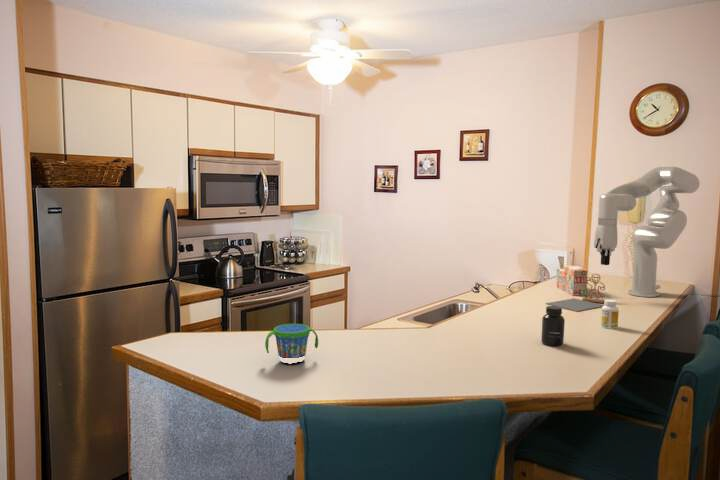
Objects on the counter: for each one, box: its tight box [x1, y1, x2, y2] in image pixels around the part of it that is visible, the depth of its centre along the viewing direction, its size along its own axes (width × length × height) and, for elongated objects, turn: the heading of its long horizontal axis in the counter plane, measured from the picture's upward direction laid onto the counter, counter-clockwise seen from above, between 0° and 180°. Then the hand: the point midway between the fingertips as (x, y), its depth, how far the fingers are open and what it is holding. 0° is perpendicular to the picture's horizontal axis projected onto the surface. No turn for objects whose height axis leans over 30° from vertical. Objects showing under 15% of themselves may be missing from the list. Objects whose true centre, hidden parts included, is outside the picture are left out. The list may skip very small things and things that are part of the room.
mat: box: [545, 298, 605, 313], centre depth 227 cm, size 18×16×1 cm
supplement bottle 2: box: [600, 299, 620, 330], centre depth 192 cm, size 5×5×10 cm
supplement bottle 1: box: [540, 305, 566, 347], centre depth 173 cm, size 7×7×12 cm
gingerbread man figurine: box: [581, 273, 606, 304], centre depth 232 cm, size 9×4×12 cm, turn 49°
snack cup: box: [264, 323, 319, 358], centre depth 158 cm, size 16×10×10 cm
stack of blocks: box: [556, 265, 588, 297], centre depth 255 cm, size 21×6×12 cm, turn 0°
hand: (605, 264), depth 234 cm, fingers closed
